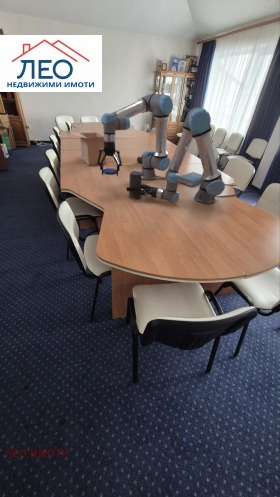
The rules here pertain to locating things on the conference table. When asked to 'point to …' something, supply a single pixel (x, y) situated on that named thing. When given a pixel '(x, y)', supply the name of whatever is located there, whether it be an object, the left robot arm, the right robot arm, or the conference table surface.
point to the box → (91, 146)
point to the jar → (135, 183)
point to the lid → (109, 171)
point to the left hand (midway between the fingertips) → (110, 175)
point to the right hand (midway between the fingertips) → (129, 186)
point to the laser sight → (139, 159)
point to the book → (190, 179)
